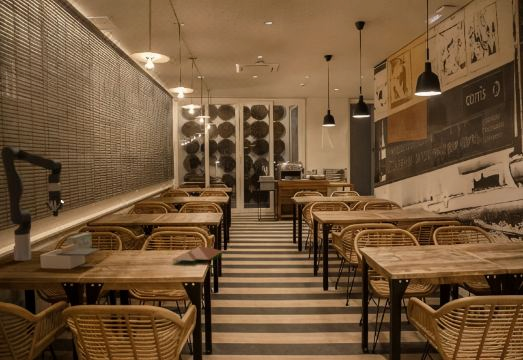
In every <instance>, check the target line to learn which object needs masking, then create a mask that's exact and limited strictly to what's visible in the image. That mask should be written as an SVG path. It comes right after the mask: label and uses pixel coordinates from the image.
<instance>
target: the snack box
mask: <svg viewBox="0 0 523 360" xmlns="http://www.w3.org/2000/svg"><path fill="white" fill-rule="evenodd" d="M92 235H93V233H92V232H82V233H80V234H79V233H78V234H76V235H71V236H69V237H67V238H66V246H69V245H72V244H75V248H84V249H93V242H92V241H93V238H92V237H93V236H92ZM90 255H91V254H89V255H88V256H90Z"/></svg>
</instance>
